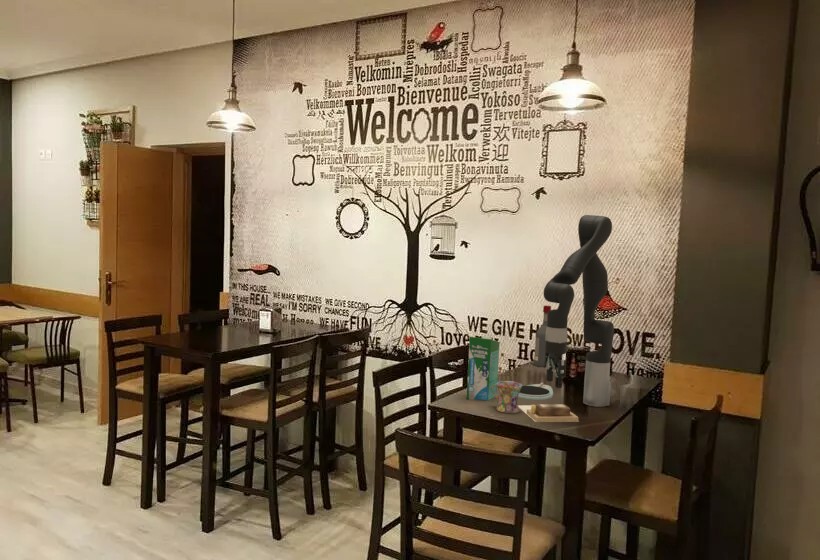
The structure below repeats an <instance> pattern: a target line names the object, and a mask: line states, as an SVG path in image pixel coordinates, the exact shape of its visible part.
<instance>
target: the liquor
mask: <svg viewBox="0 0 820 560" xmlns="http://www.w3.org/2000/svg"><path fill="white" fill-rule="evenodd" d="M542 309H543V310H542V311H543V320H542V324H541V326H540V327H539V328H538V329H537V330H536V333H535V341H534V342H535V345H534V358H533V359H534V360H533V364H534V366H535V367H539V368H545V367H544V361H545V338H546V329H547V315H548V312H549V311H550V310H552V306H551V305H543V308H542Z"/></svg>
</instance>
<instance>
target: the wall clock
mask: <svg viewBox="0 0 820 560" xmlns="http://www.w3.org/2000/svg"><path fill="white" fill-rule="evenodd" d="M553 396H554V390H553V388H552V386H551V385H548V384H545V383H544V382H540V383H535V384H534V383H533V384H527V385H522V387H521V389H520V392H519V395H518V398H519V399H524V400H535V401H536V400H537V401H540V400H549V399H551V398H553Z"/></svg>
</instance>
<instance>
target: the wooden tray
mask: <svg viewBox="0 0 820 560" xmlns="http://www.w3.org/2000/svg"><path fill="white" fill-rule="evenodd" d="M518 407H519V410H520V411H522V412H523V413H525V414H526V415H527V416H528V417H529V418H530V419H531V420H533V421H534V422H535V423H568V422H569V423H572V422H573V423H577V422H578V423H579V422H580V420H579V417H578V416H577V415H576V414H574V413H573V412H572V411H570V416H556V417H538V416H537V415H536V405H535V404H530V405H529V404H528V405H527V404H526V405H525V404H524V405H519V404H518Z"/></svg>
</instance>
